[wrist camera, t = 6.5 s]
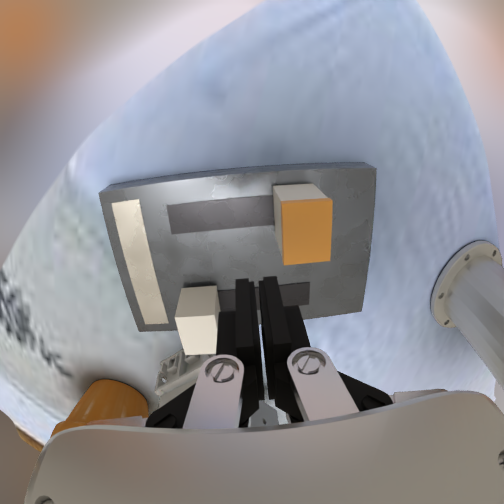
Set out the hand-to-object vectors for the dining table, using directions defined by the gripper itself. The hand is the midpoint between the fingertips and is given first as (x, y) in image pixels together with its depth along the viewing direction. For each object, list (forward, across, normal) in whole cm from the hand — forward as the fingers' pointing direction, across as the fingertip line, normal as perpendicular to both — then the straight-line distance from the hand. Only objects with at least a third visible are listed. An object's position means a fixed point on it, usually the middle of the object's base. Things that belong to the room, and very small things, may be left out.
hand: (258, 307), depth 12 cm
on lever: (+11, +5, +8) cm, 14 cm away
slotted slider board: (+14, +1, +4) cm, 15 cm away
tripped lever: (+11, -3, 0) cm, 12 cm away
